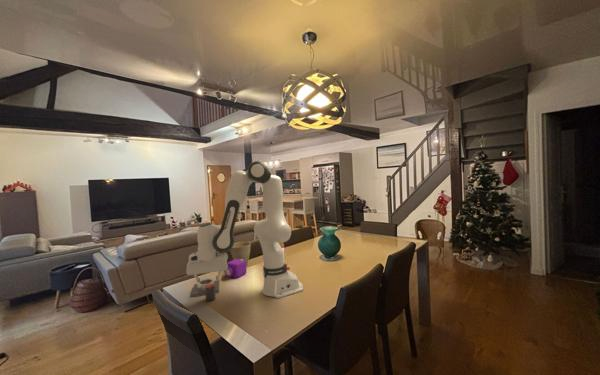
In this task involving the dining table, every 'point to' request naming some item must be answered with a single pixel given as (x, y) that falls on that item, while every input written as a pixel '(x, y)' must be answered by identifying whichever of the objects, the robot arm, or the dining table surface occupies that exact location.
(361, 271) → the dining table surface
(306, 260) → the dining table surface
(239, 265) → the toy camera
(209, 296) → the dome-topped dark cylinder
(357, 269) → the dining table surface
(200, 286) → the octagon ring plate
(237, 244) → the plant pot
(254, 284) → the dining table surface
